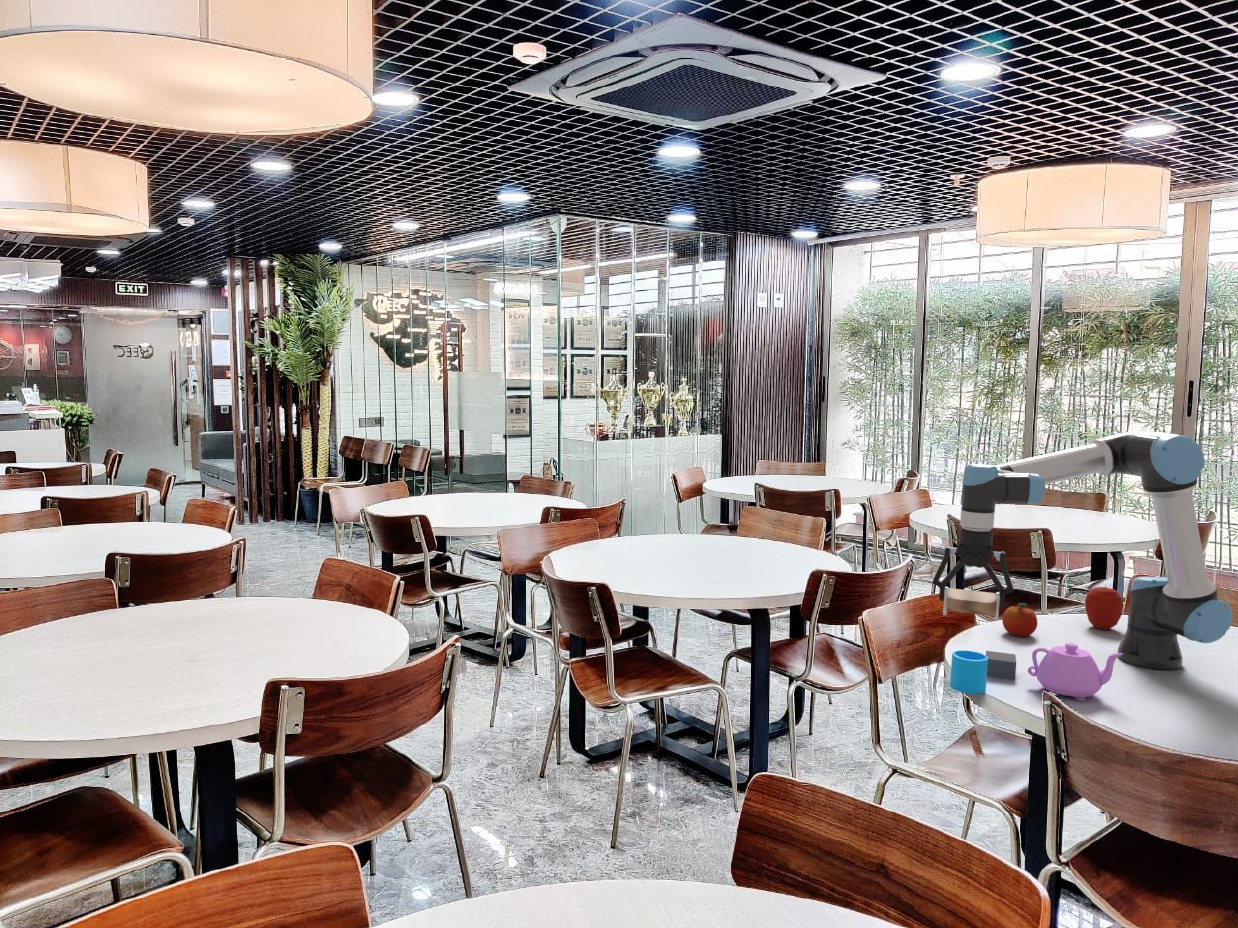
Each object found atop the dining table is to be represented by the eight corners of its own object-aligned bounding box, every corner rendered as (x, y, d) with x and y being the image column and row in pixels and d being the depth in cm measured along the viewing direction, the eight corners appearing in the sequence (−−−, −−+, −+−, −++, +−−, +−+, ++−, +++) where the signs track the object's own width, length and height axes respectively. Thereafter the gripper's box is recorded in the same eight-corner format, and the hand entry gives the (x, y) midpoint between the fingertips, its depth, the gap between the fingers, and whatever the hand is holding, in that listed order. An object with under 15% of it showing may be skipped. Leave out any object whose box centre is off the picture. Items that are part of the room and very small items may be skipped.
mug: (989, 695, 216) (992, 662, 215) (954, 692, 217) (956, 659, 216) (976, 678, 228) (979, 646, 227) (943, 675, 229) (945, 644, 228)
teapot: (1120, 693, 219) (1124, 644, 218) (1117, 711, 207) (1121, 660, 205) (1030, 677, 229) (1033, 630, 228) (1022, 693, 217) (1026, 644, 216)
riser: (1014, 671, 233) (1015, 654, 233) (1015, 679, 227) (1016, 662, 226) (984, 667, 236) (986, 650, 235) (985, 675, 229) (986, 658, 229)
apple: (1126, 629, 274) (1130, 584, 273) (1113, 635, 268) (1117, 589, 266) (1090, 621, 282) (1094, 577, 281) (1077, 627, 275) (1081, 582, 274)
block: (994, 605, 223) (995, 593, 223) (995, 616, 213) (996, 603, 213) (947, 599, 227) (948, 588, 227) (946, 610, 217) (947, 598, 217)
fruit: (1032, 631, 270) (1035, 598, 269) (1039, 640, 260) (1042, 607, 259) (998, 628, 272) (1000, 596, 271) (1004, 637, 263) (1006, 604, 261)
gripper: (1028, 530, 217) (1021, 618, 219) (926, 521, 226) (920, 607, 228) (1030, 535, 210) (1023, 627, 213) (924, 526, 219) (918, 614, 221)
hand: (970, 616), depth 220 cm, fingers closed on block, 11 cm apart
